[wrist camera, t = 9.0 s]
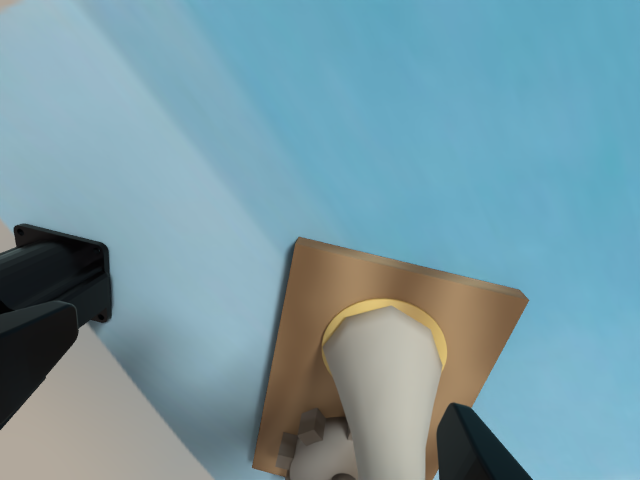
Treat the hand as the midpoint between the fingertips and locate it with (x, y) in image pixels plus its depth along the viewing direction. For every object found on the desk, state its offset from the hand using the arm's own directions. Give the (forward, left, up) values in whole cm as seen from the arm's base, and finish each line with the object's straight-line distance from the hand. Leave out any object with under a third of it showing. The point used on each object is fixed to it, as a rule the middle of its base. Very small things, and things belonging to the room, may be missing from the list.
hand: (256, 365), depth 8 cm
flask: (+6, -8, -12) cm, 15 cm away
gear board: (+6, -13, -13) cm, 19 cm away
